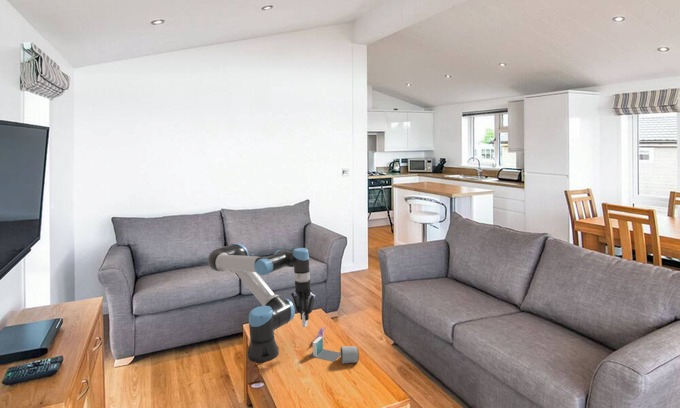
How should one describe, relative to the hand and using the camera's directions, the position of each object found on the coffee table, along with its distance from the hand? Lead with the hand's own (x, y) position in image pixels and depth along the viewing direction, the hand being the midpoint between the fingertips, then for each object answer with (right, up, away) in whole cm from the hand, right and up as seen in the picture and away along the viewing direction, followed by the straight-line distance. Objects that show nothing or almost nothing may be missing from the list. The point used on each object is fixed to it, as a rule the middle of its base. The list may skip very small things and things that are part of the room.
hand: (305, 326), depth 210 cm
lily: (+7, -12, +11) cm, 18 cm away
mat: (+10, -14, -3) cm, 17 cm away
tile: (+7, -13, -1) cm, 15 cm away
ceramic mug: (+21, -14, -8) cm, 27 cm away
